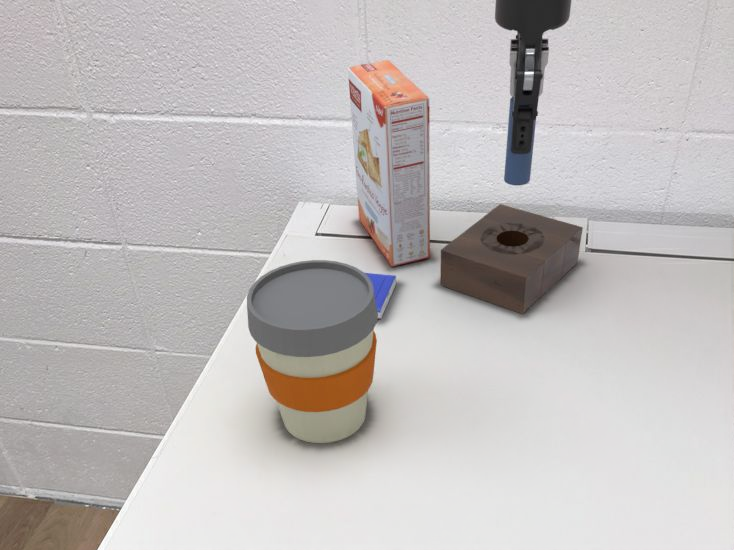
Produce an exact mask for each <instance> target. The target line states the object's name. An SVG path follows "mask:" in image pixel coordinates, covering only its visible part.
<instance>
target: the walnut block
mask: <svg viewBox="0 0 734 550" xmlns="http://www.w3.org/2000/svg"><path fill="white" fill-rule="evenodd" d="M583 228H584V227H583V226H579V225H577V224H573V223H570V222H565V221H563V220H558V219H555V218H553V217H549V216H544V215H541V214H538V213H533V212H531V211H527V210H523V209H519V208H516V207H512V206H509V205H505V204H502V203H499V204H498V205H497V206H495V207H494V208H493V209H492V210H490V211H489V212H487V214H485V215H484V216H483V217H481V218H480V219H479V220H478V221H476V222H474V224H472V225H471V226H470V227H468V228H467V229H466V230H465V231H463V232H461V234H459V235H458V236H457V237H456V238H454V239H453V240H452V241H450V242H449V243H447V244H446V245H445V246H444V247H443V248H442V249H440V280H439V281H440V286H442V287H444V288H447V289H450V290H453V291H456V292H459V293H462V294H464V295H467V296H469V297H473V298H474V299H475V298H476V299H479V300H481V301H484V302H487V303H490V304H493V305H496V306H499V307H501V308H504V309H507V310H510V311H513V312H516V313H518V314H522V315H523V314H524V313H526V312H527V311H528V310H529V309H530V308H531V307H532V306H533V305H535V303H536V302H537V301H538V300H539V299H541V298H542V297H543V296H544V295H545V294H546V293H547V292H549V290H550V289H551V288H553V286H555V285H556V284H557V282H559V281H560V280H561V279H562V278H563V277H564V276H565V275H567V273H568V272H570V270H572V269H573V268H574V267H575V266H576V265H577V264H578V262H579V255H580V248H581V243H582V242H581V241H582V236H583Z"/></svg>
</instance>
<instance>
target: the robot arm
mask: <svg viewBox="0 0 734 550" xmlns="http://www.w3.org/2000/svg"><path fill="white" fill-rule="evenodd" d="M494 6H495V9H494V19H495V23H496V24H497V25H498V26H499V27H501V28H502V29H504V30H507V31H510V32H511V31H515V32H516V33H517V34H515V38H511V39H510V43H509V66H510V75H509V94H510V96H511V98H512V97H514V103H513V111H512V112H511V116H513V117H512V120H513V127H512V140H511V152H512V153H513V154H528V153H529V152H530V151H531V143H532V133H533V123H534V120H536V121H537V117H538V115H539V111H538V107H539V106H538V105H539V98H540V97H541V96H542V94H543V90H544V80H545V69H546V67H547V65H548V63H549V54H550V53H549V52H550V46H549V38H543V35H544V34H545V32H546V33H547V32H548V31H550V30H552V31H554V30H557V29H560V28H561V27H563V26H564V25H566V24H567V23H568V21H569V19H570V16H571V8H572V0H495V5H494ZM520 104H532V107H518V106H519V105H520Z"/></svg>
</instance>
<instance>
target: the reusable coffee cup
mask: <svg viewBox="0 0 734 550" xmlns="http://www.w3.org/2000/svg"><path fill="white" fill-rule="evenodd" d="M365 273H366V272H364V271H363V270H362V269H359V268H358V267H356V266H354V265H350V264H348V263H345V262H339V261H335V260H327V259H312V260H301V261H297V262H296V261H295V262H291V263H288V264H284V265H281V266H278V267H276V268H274V269H271V270H270V271H268V272H266V273H264V274H263V275H261V276H260V277H259V278H258V279H257V280H255V281H254V282H253V284H252V285H251V287H250V288H249V289H248V292H247V295H246V311H247V312H246V313H247V326H248V331H249V334H250V336H251V337H252V338H253V340H254V341H255V342H256V344H255V354H256V358H257V360H258V363H259V366H260V369H261V372H262V376H263V378H264V380H265V384H266V388H267V390H268V393H269V395H271V397H272V399H274V400H275V402H276V405H277V407H278V410H279V413H280V417H281V419H282V422H283V425H284V428H285V430H287V432H288V433H289V434H290V435H291V436H292V437H294V438H296V439H298V440H301V441H304V442H307V443H311V444H329V443H334V442H339V441H341V440H345V439H346V438H349V437H350V436H352V435H354V434H355V433H356V432H357V431H359V430H360V428H361V427H362V426H363V424H364V423H365V420H366V416H367V407H368V406H367V405H368V395H369V394H368V393H369V390H370V388H371V386H372V384H373V381H374V374H375V365H376V364H375V362H376V355H377V354H376V353H377V334H376V332H375V330H374V329H375V327H376V325H377V323H378V319H379V318H378V312H377V306H376V300H375V294H374V289H373V283H372V282H371V280H370V278H369V277H368V276H367V275H366V274H365Z"/></svg>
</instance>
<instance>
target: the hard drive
mask: <svg viewBox="0 0 734 550" xmlns="http://www.w3.org/2000/svg"><path fill="white" fill-rule="evenodd" d="M364 273H365V274H366V275H367V276H368V277H369V278H370V280H371V282H372V283H373V289H374V294H375V300H376V306H377V312H378V319H380V320H381V319H382V317H383V315H384V313H385V311H386V308H387V306H388V304H389V301H390V300H391V297H392V295H393V292H394V290H395V288H396V285H397V275H395V274H382V273H372V272H364Z"/></svg>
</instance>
